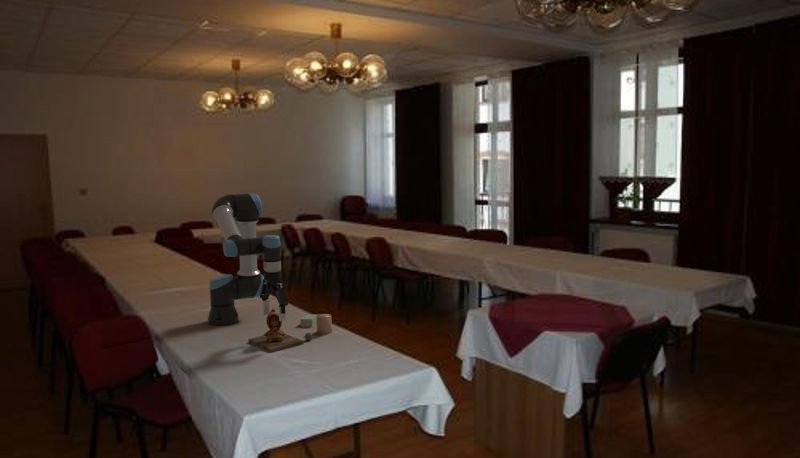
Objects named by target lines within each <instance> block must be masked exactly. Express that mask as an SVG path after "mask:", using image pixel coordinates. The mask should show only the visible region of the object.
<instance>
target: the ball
mask: <svg viewBox="0 0 800 458" xmlns="http://www.w3.org/2000/svg"><path fill="white" fill-rule="evenodd" d="M313 338H314V337H313V333H312V332H306V333H305V335H304V339H306V340H307V341H311V340H312V339H313Z"/></svg>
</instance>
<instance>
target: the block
mask: <svg viewBox="0 0 800 458" xmlns="http://www.w3.org/2000/svg"><path fill="white" fill-rule="evenodd" d="M317 315H318V314H310V313H309V314H305V315H304V316H302V317H301V318H300V320H299V321H300V327H302V328H303V327H306V328H313V327H314V326H316V325H317V320H316V316H317Z"/></svg>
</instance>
